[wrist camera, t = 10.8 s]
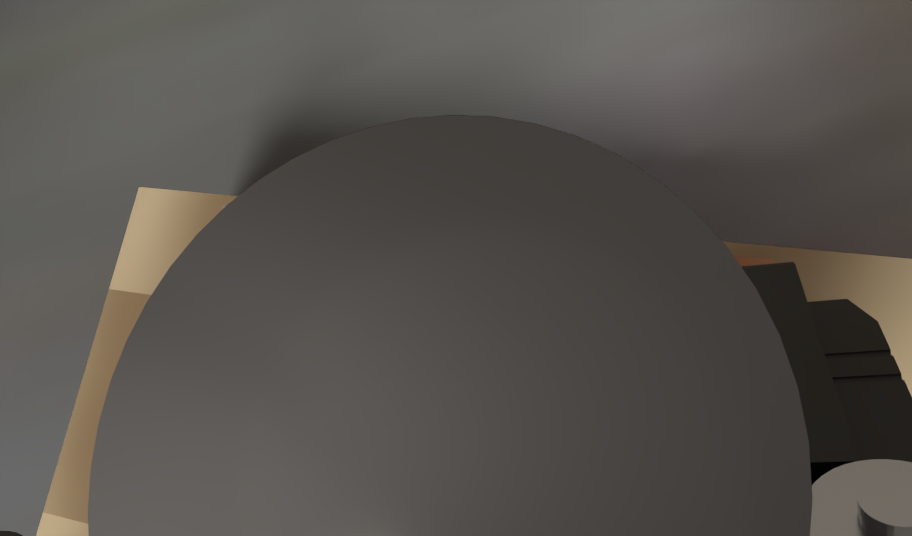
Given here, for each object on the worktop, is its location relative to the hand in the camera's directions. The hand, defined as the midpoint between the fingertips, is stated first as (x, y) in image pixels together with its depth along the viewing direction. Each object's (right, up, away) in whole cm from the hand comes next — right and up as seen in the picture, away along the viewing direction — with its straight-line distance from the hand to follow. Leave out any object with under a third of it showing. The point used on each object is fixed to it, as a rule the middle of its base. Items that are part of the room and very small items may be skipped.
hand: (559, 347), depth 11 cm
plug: (+1, -3, +3) cm, 4 cm away
